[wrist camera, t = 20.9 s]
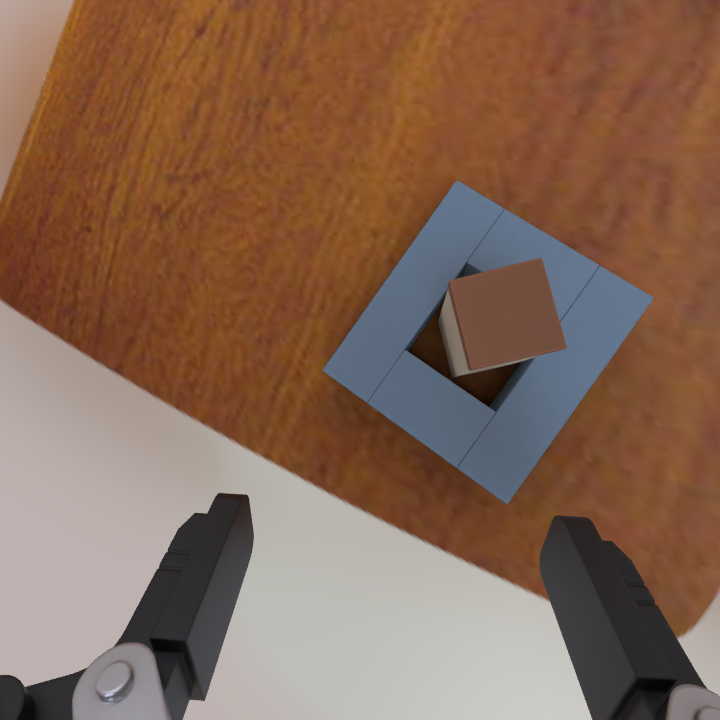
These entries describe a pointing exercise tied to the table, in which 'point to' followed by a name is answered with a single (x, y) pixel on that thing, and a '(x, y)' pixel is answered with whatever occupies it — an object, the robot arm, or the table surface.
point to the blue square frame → (531, 378)
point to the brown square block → (499, 318)
